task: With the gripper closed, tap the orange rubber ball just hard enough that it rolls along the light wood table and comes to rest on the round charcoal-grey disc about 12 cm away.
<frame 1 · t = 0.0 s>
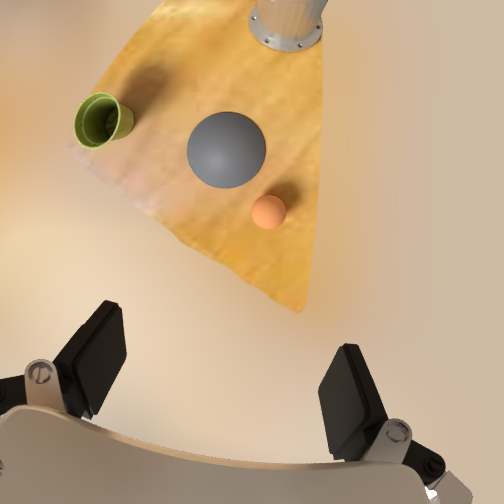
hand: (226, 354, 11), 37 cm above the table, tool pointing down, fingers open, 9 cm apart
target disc: (225, 150, 42), on the table
ball: (268, 212, 43), on the table
plant pot: (120, 123, 41), on the table
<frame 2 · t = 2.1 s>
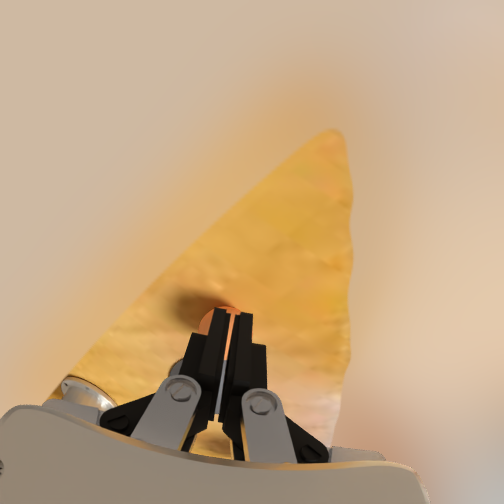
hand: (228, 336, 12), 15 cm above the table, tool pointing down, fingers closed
ball: (225, 333, 26), on the table
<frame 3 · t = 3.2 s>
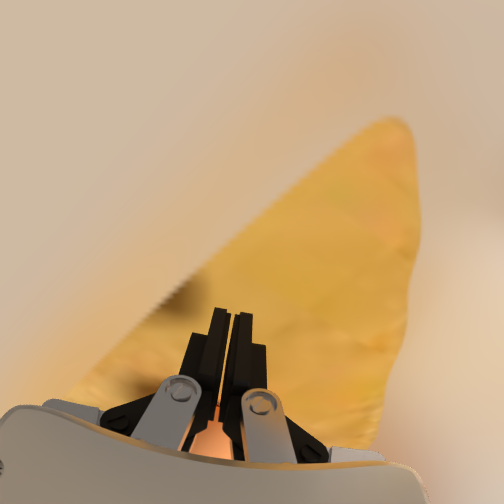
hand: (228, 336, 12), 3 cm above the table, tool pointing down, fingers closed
ball: (206, 440, 15), on the table
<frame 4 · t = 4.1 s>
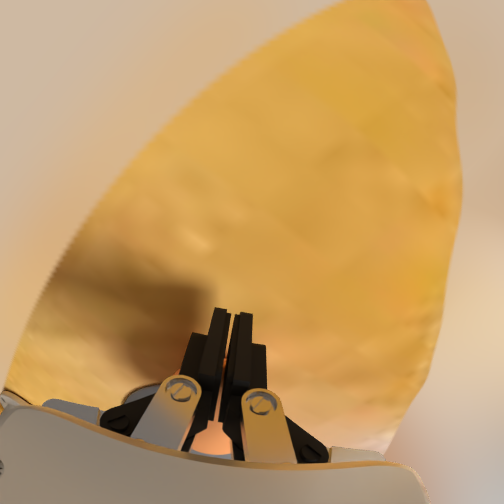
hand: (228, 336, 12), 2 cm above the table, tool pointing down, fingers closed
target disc: (201, 433, 18), on the table
ball: (215, 406, 12), on the table, touching gripper
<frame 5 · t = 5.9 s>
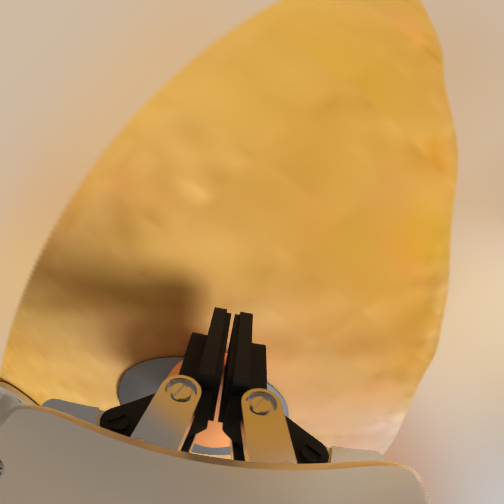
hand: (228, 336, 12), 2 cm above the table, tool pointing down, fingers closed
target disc: (200, 417, 17), on the table
ball: (214, 400, 13), on the table, touching gripper
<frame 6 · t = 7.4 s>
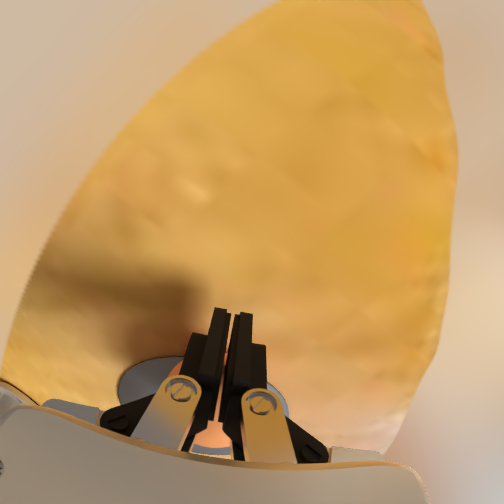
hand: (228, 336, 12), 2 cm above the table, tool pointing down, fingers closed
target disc: (201, 417, 17), on the table
ball: (214, 400, 13), on the table, touching gripper
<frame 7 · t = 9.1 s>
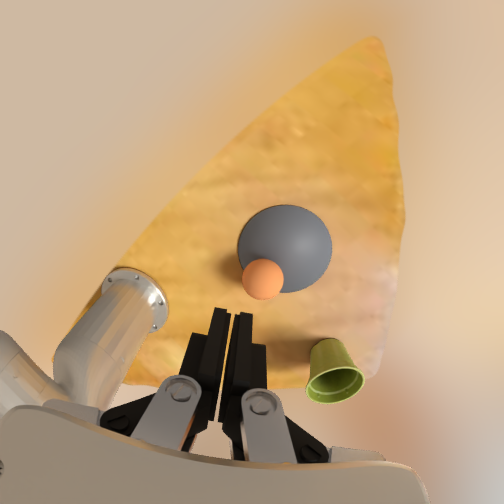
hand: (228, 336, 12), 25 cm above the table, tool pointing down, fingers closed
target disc: (285, 251, 37), on the table
ball: (262, 279, 36), on the table
plant pot: (327, 349, 44), on the table
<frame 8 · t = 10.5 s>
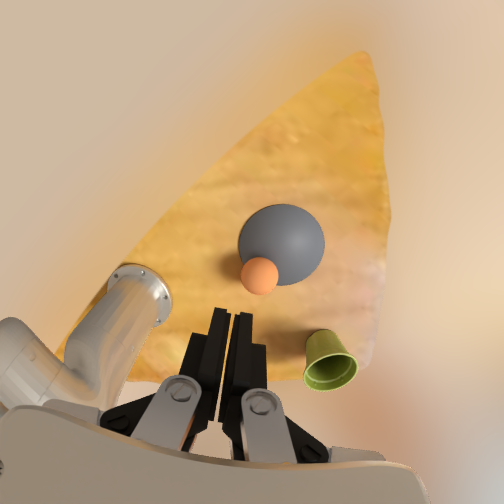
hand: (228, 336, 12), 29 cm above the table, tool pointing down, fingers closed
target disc: (282, 246, 41), on the table
ball: (259, 276, 40), on the table
plant pot: (322, 340, 48), on the table
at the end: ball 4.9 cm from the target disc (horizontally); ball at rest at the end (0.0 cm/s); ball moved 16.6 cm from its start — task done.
